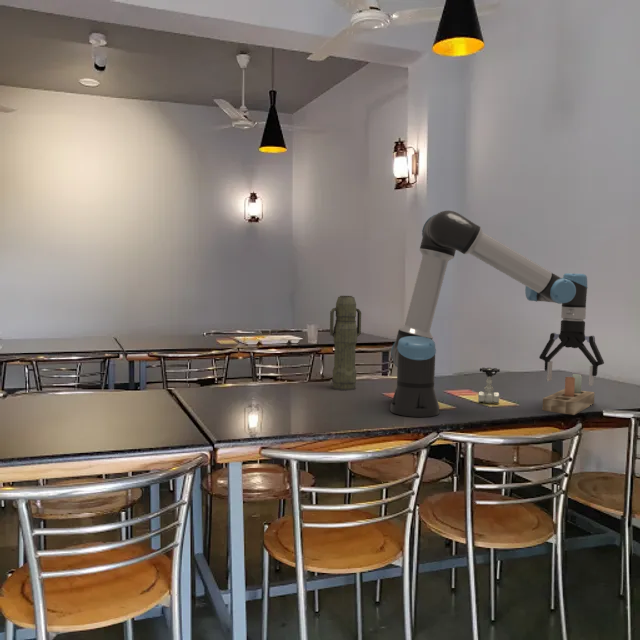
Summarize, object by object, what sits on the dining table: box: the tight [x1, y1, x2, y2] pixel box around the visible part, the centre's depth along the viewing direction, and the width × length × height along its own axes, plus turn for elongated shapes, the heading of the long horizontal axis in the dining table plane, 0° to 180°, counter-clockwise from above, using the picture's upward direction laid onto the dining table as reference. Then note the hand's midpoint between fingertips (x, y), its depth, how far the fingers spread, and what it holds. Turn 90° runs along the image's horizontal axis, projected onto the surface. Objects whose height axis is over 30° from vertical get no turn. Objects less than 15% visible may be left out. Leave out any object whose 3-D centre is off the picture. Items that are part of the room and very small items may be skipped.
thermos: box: [329, 295, 362, 391], centre depth 240 cm, size 9×12×35 cm
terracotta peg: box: [564, 376, 575, 397], centre depth 213 cm, size 3×3×10 cm
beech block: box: [541, 388, 596, 416], centre depth 214 cm, size 10×24×4 cm, turn 143°
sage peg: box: [571, 373, 583, 394], centre depth 220 cm, size 3×3×10 cm
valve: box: [478, 367, 501, 404], centre depth 217 cm, size 7×7×12 cm
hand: (569, 383), depth 213 cm, fingers open, 13 cm apart
